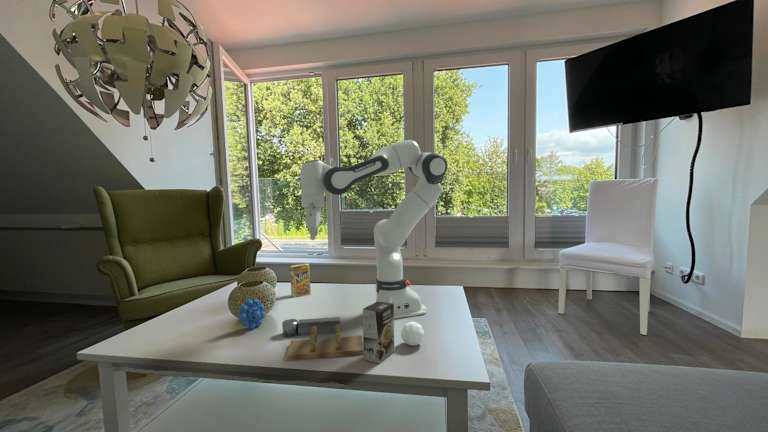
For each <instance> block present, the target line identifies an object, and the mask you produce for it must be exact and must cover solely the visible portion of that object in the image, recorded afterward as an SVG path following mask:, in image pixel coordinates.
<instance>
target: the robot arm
mask: <svg viewBox="0 0 768 432" xmlns="http://www.w3.org/2000/svg"><path fill="white" fill-rule="evenodd" d="M407 168H408V169H409V172H411V174H412V175H413V176H415V177H416V178H418V181H417V183H416V185H415V187H413V188H412V190H410V191H409V193H407V195H406V196H405V197H404V198H403V199H402V200H401V201H400V202H399V203H398V204H397V207H396V208H395V210H393V212H392V214H391V215H390V216H389V218H387V219H385V218H384V219H381V220H379V221H377V223H376V224H375V226H374V227H373V242H374V251H375V259H376V260H375V261H376V278H375V291H376V298H375V302H377V301H379V302H386V303H392V304H394V320H395V319H401V318H409V317H414V316H415V317H416V316H421V315H422V314H423V315H426V314H427V307H426V305H425V304H423V303H422V301H421V297H420V296H419V294H418V293H417V292H416V291H415V290H413V289H412V288H410V285H411V282H410V281H409V280H408V279H407V278H406V277H404V276H403V275H404V270H403V269H404V268H403V266H404V265H403V257H402V251H401V247H402V246H403V245H404V244H405V242H406V241H407V238H408V237H409V235H410V234H411V233H412V231H413V229H414V227H416V225H417V224H418V222H419V221H420V220H421V219H423V217H424V216H425V215H426V213H428V211H429V210H430V209H431V208H433V206H435V205H434V204H436V202H437V201H438V199H440V198H439V197H440V196H441V194H442V193H443V186H442V184H441V183H442V182H443V180H444V177H445V175H446V173H447V171H448V161H447V159H446V158H445V157H444V156H443V155H442V154H440V153H437V152H431V151H429V152H427V151H426V152H422V150H421V148H420V146H419V144H418V143H417V142H416V141H415V140H412V139H407V140H402V141H398V142H394V143H391V144H389V145H386V146H383V147H382V148H380V149H379V150H376V151H375V152H374V154H373V155H372V156H371V157H370V158H368V159H366V160H364V161H362V162H359V163H356V164H354V165H351V166H347V167H345V166H344V167H343V166H334V167H332V166H330V165H328V164H326V163H324V162H323V161H322V160H320V159H314V160H308V161H305V162H303V164H302V165H301V167H300V186H301V193H300V199H301V200H300V201H301V204H300V205H301V206H300V207H301V208H304V212H305V226H306V229H308V230H309V235H310V236H309V237H310V238H309V239H310V240H311V241H314V240H316V237H317V236H318V231H319V227H318V226H319V224H320V223H321V217H322V216H321V215H322V208H323V207H325V206H326V205H325V203H326V202H325V192H329V193H330V194H331V195H337V196H339V195H344V194H346V193H347V192H348V191H349V190H350V189H351V188H352V187H353V186H354V185H355V184H357V183H359V182H361V181H364V180H366V179H369V178H371V177H373V176H377V175H381V176H384V175H390V174H393V173H396V172H399V171H401V170H403V169H407ZM425 313H426V314H425Z"/></svg>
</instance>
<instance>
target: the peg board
mask: <svg viewBox="0 0 768 432" xmlns="http://www.w3.org/2000/svg"><path fill="white" fill-rule="evenodd" d="M335 327H336V333H334V334H335V335H334V336H335V337H325V338H323V337H322V338H317V337H318V334H317V330H316V326H313V327H312V334H309V339H294V340H290V344H289V347H288V349H287V352H286V356H285V357H286V361H294V360H295V361H297V360H308V359H322V358H324V359H325V358H331V357H332V358H334V357H346V356H357V355H358V356H360V355H364V354H363V335H352V336H342V335H341V324H340V325H336V326H335Z"/></svg>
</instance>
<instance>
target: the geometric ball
mask: <svg viewBox="0 0 768 432" xmlns="http://www.w3.org/2000/svg"><path fill="white" fill-rule="evenodd" d="M400 334H401V335H400V336H401V339H402V340H403V342H404V343H405V344H406V345H408V346H412V347H416V346H418V345H419V344H421V343H423V339H424V337H425V330H424V327H423V326H422V325H421V324H420V323H418V322H416V321H409V322H407V323H405V324H404V325H403V326H402V329H401V333H400Z"/></svg>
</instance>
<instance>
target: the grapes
mask: <svg viewBox="0 0 768 432" xmlns="http://www.w3.org/2000/svg"><path fill="white" fill-rule="evenodd" d="M239 311H240V312H239V313H238V319H239V320H240V321H241V325H242V327H244V328H246V327H248V328H249V329H250V330H253V329H256V327H257V326H261V325H262V324H263V320H262V319H265V317H266V312H265V305H264V303H261V302H260V300H259V298H258V299H257V298H254V299H253V300H252V299H251V298H247V299H245V301H244V303H243V304H241V305H240V306H239Z"/></svg>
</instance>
